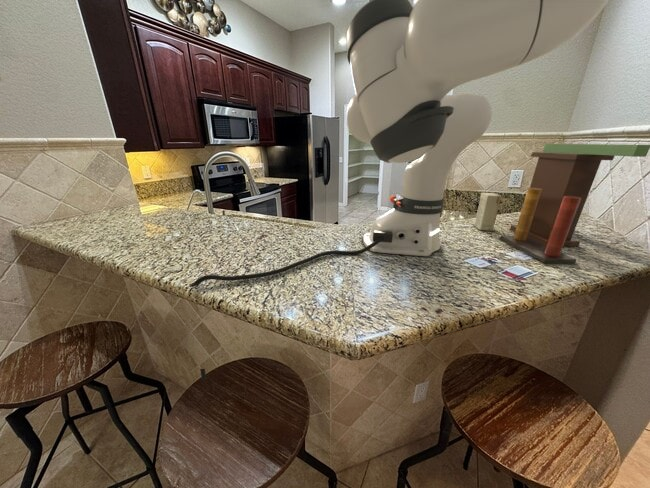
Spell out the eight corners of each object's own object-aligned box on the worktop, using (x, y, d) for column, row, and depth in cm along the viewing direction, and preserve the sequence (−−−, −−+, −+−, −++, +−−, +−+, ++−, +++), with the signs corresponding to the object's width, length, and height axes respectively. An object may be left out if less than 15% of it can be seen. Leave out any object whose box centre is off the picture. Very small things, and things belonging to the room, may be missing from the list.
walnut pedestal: (545, 246, 78) (577, 154, 68) (509, 229, 93) (532, 151, 83) (578, 246, 78) (615, 154, 68) (537, 229, 93) (563, 152, 83)
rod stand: (544, 263, 67) (566, 199, 60) (499, 238, 83) (514, 186, 77) (575, 263, 67) (600, 199, 60) (524, 239, 83) (540, 187, 77)
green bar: (632, 156, 59) (637, 144, 58) (542, 152, 83) (545, 143, 82) (646, 156, 59) (651, 144, 58) (552, 152, 83) (554, 143, 82)
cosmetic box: (493, 231, 90) (502, 196, 86) (479, 230, 91) (488, 195, 86) (486, 225, 96) (494, 192, 91) (473, 225, 97) (481, 192, 92)
